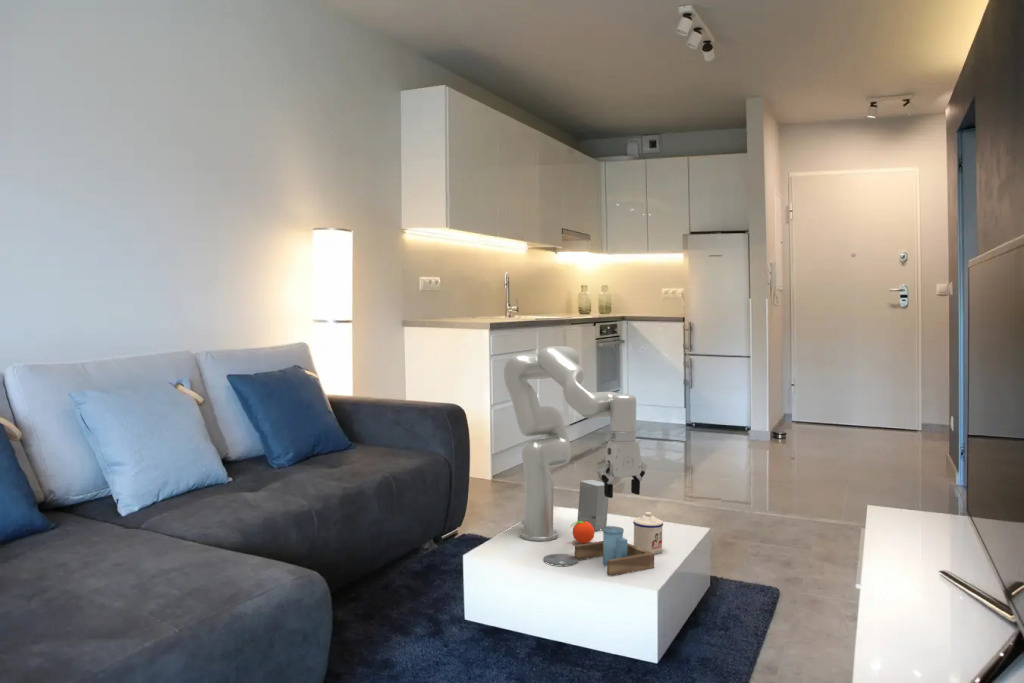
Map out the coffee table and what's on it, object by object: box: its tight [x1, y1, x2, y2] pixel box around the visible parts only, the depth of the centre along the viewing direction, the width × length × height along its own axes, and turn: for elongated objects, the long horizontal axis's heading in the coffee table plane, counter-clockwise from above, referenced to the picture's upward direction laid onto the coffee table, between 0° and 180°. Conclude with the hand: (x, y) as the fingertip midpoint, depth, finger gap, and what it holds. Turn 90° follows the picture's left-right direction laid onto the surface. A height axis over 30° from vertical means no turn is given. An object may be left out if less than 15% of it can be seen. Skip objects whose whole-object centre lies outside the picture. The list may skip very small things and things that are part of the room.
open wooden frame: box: [574, 540, 655, 576], centre depth 217 cm, size 17×16×4 cm
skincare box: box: [576, 479, 609, 532], centre depth 255 cm, size 8×7×16 cm
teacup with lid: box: [632, 511, 664, 555], centre depth 232 cm, size 12×9×12 cm
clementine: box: [569, 521, 595, 544], centre depth 237 cm, size 8×7×7 cm
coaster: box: [543, 553, 579, 567], centre depth 219 cm, size 10×10×1 cm
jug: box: [602, 525, 628, 567], centre depth 216 cm, size 8×6×10 cm
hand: (622, 495), depth 218 cm, fingers open, 9 cm apart
